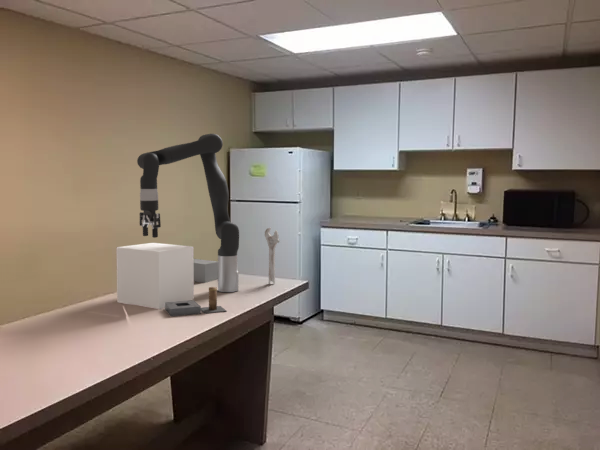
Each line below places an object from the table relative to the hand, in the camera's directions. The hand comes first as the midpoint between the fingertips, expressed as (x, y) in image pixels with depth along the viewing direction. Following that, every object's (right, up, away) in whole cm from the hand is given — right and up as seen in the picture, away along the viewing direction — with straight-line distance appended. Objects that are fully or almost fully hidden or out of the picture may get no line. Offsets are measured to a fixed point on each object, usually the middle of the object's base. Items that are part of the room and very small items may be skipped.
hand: (150, 236), depth 228 cm
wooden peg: (+29, -30, -11) cm, 43 cm away
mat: (+29, -30, -11) cm, 43 cm away
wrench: (+51, -26, +40) cm, 70 cm away
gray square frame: (+17, -30, -14) cm, 38 cm away
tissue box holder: (+12, -25, +58) cm, 64 cm away
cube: (+1, -29, +5) cm, 30 cm away
